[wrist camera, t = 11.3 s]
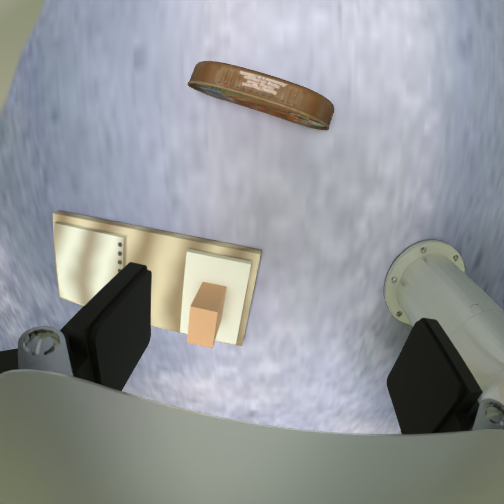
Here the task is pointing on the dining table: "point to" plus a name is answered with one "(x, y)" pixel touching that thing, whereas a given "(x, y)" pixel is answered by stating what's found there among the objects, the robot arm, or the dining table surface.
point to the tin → (263, 93)
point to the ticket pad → (138, 251)
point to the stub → (213, 297)
